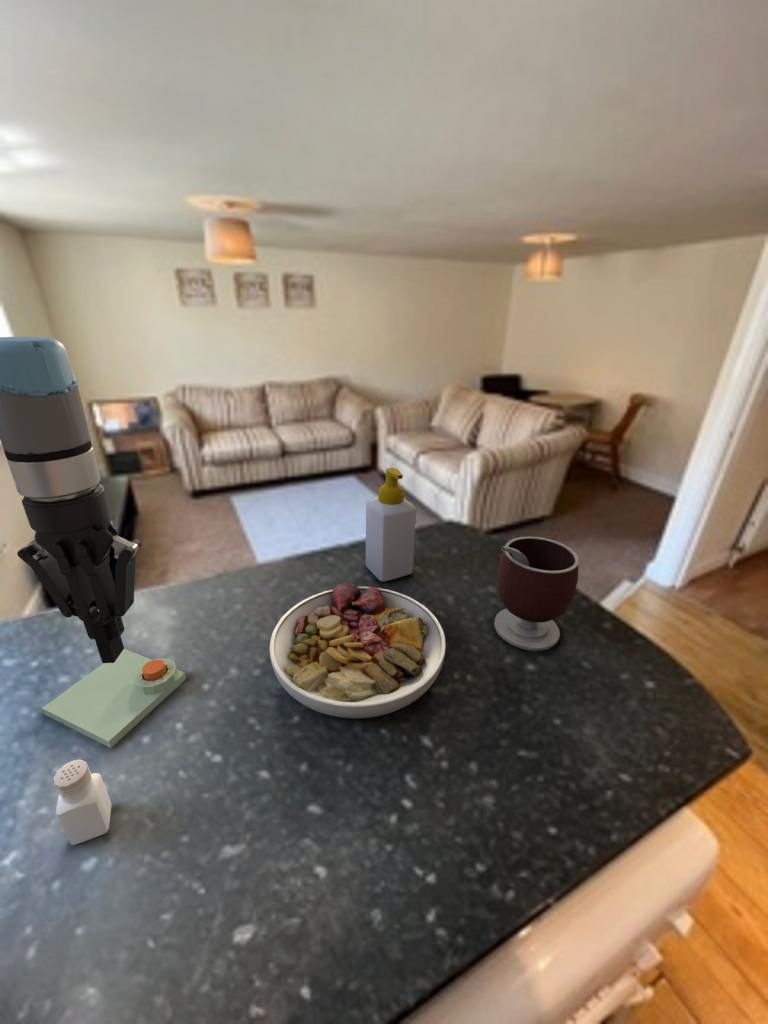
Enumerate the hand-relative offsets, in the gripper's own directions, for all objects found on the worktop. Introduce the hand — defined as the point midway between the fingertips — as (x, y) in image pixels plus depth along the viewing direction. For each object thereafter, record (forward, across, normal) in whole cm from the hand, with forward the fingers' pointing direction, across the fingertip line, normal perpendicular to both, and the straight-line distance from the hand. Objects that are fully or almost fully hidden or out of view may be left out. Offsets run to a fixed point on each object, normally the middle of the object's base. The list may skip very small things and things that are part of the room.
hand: (113, 655), depth 59 cm
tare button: (+12, 0, -9) cm, 15 cm away
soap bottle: (+15, -39, -43) cm, 60 cm away
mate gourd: (+15, -64, -21) cm, 69 cm away
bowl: (+15, -32, -14) cm, 38 cm away
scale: (+15, +6, -7) cm, 17 cm away
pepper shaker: (+15, 0, +13) cm, 19 cm away
